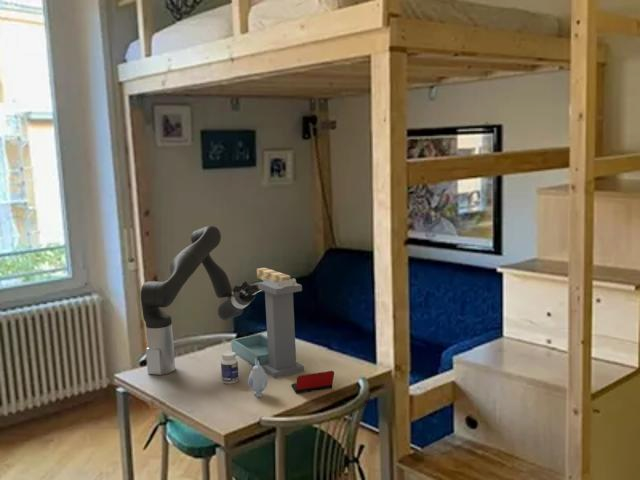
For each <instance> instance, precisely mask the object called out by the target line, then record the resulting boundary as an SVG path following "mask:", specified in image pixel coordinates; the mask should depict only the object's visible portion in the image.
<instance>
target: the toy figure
mask: <svg viewBox="0 0 640 480" xmlns="http://www.w3.org/2000/svg"><path fill="white" fill-rule="evenodd" d="M255 365H256V366H253V367H252V368H251V371H250V373H249V377H248V379H247V381H248V386H249V388H251V390H252V391H254V393H253V394H254V395H255V396H256V397H257V398H261V397H263V391H264V390H265V389H266V388H267V386H268V383H269V379H268V374H266V373H265V371H264V369H263V368H262V366H260V363H259V361H257V359H255Z"/></svg>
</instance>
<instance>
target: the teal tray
mask: <svg viewBox="0 0 640 480" xmlns="http://www.w3.org/2000/svg"><path fill="white" fill-rule="evenodd" d="M230 343H231V352H235V353H236V357H237V356H238V357H239V358H240V359H242V360H244V361H245V362H246V361H247V362H246V363H248V364H249V363H250V364H249V365H251V366H253V367H254V366H256V365H255V359H257V361H259V363H260V366H261V365H264V364H269V359H268V340H267V335H264V334H262V333H259V334H254V335H249V336H244V337H239V338H238V337H237V338H234V339H231V342H230Z"/></svg>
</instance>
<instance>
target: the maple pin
mask: <svg viewBox="0 0 640 480" xmlns="http://www.w3.org/2000/svg"><path fill="white" fill-rule="evenodd" d="M256 276H257V277H256V279H259V280H262V281H263V279H264V278H267V279H269V280H272V281H275V282H278V283H279V281H281V280H288V279H291V275H288V274H286V273H284V272H283V273H282V272H280V271H277V270H274V269H271V268H267V267H260V268H256Z"/></svg>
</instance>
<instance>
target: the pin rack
mask: <svg viewBox="0 0 640 480" xmlns="http://www.w3.org/2000/svg"><path fill="white" fill-rule="evenodd" d="M262 281H263V282H262ZM262 281H260V282H259V283H258V285H257V287H259V289H262V290H264V291H265V292H264V299H265V302H264V303H265V316H266V317H265V319H266V337H267V340H268V359H269V364H264V365H261V366H262V368H263V369H264V371H265V373H266V375H267V376H270V377H271V378H272V379H278V378H281V377H286V376H290V375H294V374H298V373H302V372H305V365H303V364H302V363H300V362H299V361H297V352H296V351H297V348H296V347H297V346H296V331H295V327H296V326H295V310H294V307H295V306H294V293H298V292H302V291H303V285H302V284H300V283H297V279H296V278H290V279H288V280H281V281H279V283H278V282H275V281H272V280H269V279H267V278H264V279H263V280H262Z"/></svg>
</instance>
